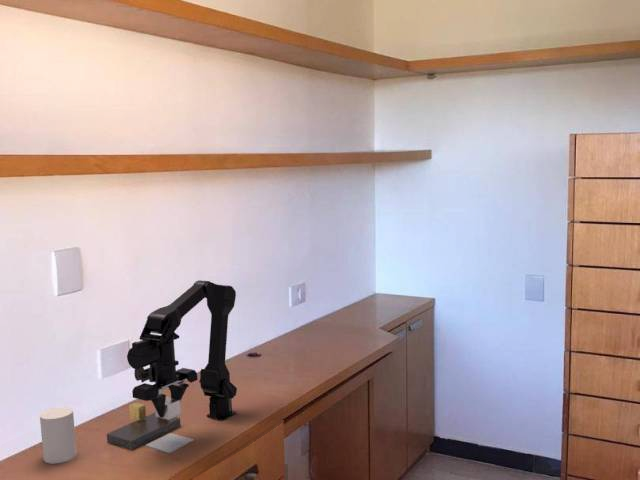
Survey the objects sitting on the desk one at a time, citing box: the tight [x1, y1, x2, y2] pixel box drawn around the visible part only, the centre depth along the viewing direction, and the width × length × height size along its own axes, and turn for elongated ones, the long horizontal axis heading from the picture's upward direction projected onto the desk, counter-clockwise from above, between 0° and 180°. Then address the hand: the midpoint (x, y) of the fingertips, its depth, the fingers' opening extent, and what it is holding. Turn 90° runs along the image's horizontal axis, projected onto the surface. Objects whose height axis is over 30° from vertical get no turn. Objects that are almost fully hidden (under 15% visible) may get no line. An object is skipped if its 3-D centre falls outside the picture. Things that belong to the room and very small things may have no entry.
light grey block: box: [154, 396, 182, 420], centre depth 179 cm, size 4×5×4 cm
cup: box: [39, 406, 78, 465], centre depth 174 cm, size 8×8×12 cm
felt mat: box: [145, 432, 194, 454], centre depth 180 cm, size 9×9×1 cm
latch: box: [128, 402, 147, 421], centre depth 191 cm, size 2×4×4 cm, turn 56°
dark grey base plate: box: [106, 412, 182, 451], centre depth 186 cm, size 18×10×6 cm, turn 146°
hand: (168, 414), depth 179 cm, fingers closed on light grey block, 4 cm apart
